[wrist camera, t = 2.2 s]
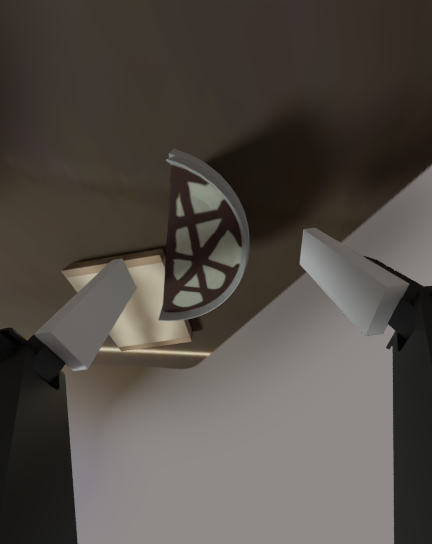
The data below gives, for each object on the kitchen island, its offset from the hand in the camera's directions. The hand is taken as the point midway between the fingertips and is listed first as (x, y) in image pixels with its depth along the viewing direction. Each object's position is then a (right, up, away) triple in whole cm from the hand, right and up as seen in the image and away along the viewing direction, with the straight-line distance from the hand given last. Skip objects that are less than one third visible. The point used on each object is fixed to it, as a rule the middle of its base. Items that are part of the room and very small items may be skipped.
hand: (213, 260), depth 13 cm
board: (-11, -6, +13) cm, 18 cm away
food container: (-1, +5, +7) cm, 9 cm away
